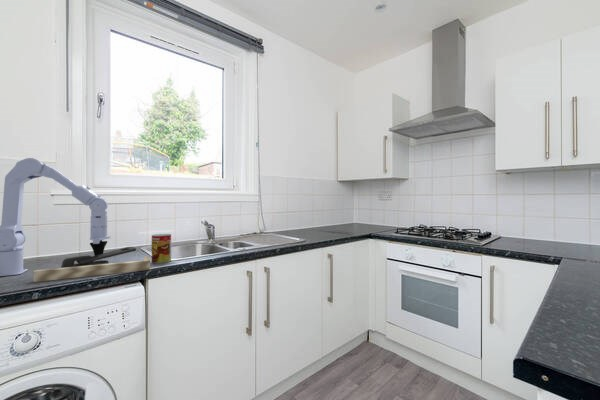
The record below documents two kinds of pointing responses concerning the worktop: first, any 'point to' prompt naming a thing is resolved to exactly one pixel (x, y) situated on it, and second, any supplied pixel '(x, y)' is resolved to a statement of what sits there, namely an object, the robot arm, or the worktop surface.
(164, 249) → the canned food
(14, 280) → the worktop surface
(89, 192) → the robot arm
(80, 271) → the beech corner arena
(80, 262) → the dark grey elongated piece
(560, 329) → the worktop surface
